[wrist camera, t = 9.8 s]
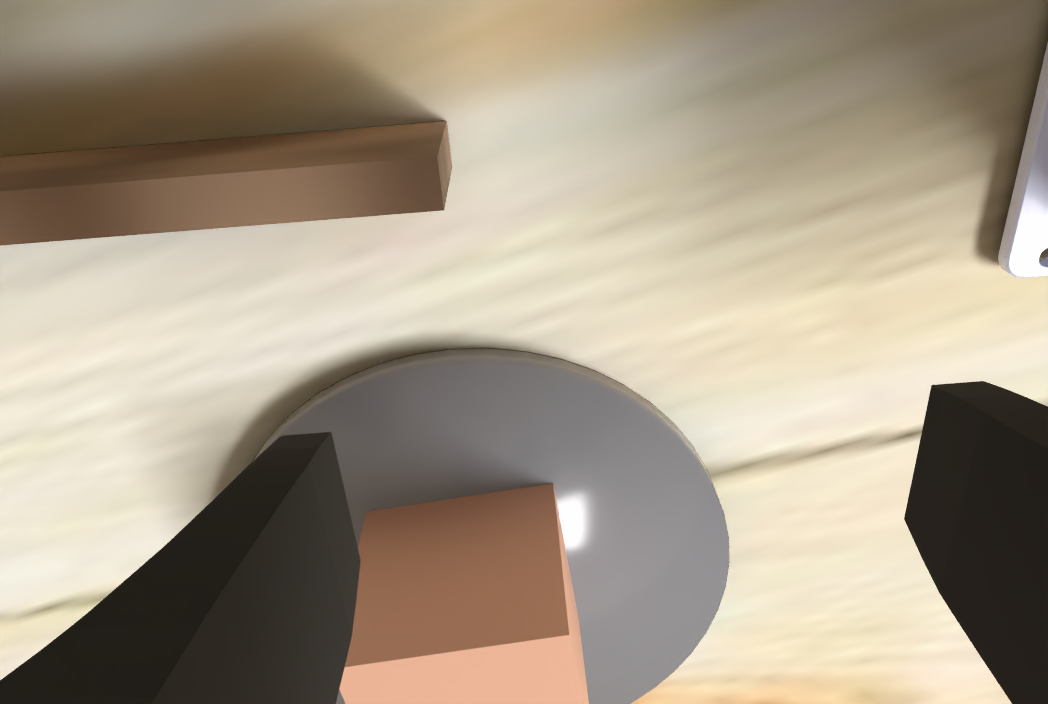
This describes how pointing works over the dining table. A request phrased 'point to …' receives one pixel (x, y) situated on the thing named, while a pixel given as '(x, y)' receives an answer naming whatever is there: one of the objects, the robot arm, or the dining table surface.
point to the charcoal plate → (543, 458)
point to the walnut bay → (224, 183)
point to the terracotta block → (466, 605)
